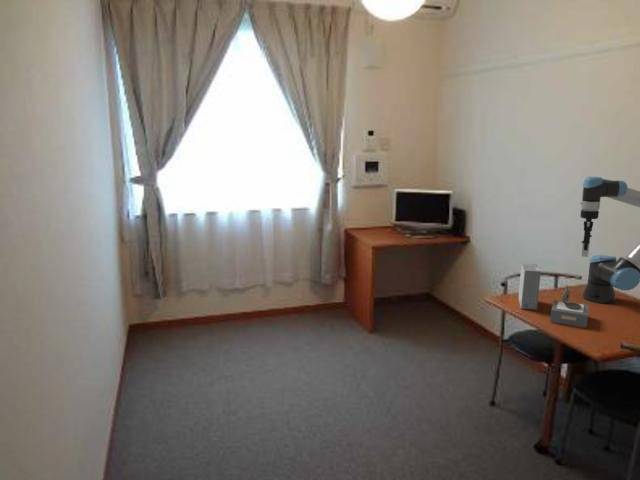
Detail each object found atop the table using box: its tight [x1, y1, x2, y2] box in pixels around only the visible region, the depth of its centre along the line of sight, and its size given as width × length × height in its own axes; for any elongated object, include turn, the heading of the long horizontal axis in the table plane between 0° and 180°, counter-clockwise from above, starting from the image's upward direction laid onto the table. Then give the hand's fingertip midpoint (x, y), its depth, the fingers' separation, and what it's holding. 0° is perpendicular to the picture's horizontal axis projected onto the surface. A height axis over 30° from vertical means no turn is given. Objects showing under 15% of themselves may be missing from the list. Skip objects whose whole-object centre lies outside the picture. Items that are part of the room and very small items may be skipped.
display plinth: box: [549, 299, 590, 329], centre depth 236 cm, size 15×15×6 cm
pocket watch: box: [561, 284, 581, 309], centre depth 235 cm, size 8×8×10 cm
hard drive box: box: [518, 262, 542, 311], centre depth 255 cm, size 16×8×20 cm, turn 164°
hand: (585, 253), depth 243 cm, fingers open, 13 cm apart
